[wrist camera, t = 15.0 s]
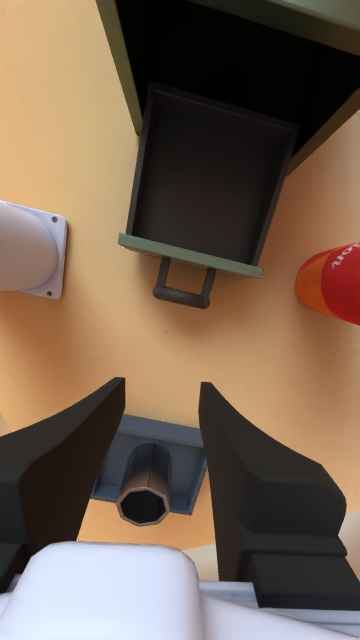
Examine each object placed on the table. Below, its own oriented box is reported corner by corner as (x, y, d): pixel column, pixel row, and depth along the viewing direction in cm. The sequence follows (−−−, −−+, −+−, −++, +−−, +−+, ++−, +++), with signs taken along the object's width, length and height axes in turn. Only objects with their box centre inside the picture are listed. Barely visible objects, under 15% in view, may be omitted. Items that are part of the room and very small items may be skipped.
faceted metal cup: (122, 464, 24) (107, 512, 19) (144, 436, 23) (135, 480, 18) (156, 482, 25) (150, 533, 20) (178, 456, 24) (178, 503, 19)
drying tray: (95, 480, 25) (87, 498, 23) (106, 410, 23) (99, 424, 21) (190, 496, 26) (191, 515, 24) (211, 431, 23) (214, 446, 21)
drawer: (123, 287, 18) (110, 290, 15) (152, 109, 15) (144, 59, 12) (234, 313, 19) (246, 321, 15) (284, 147, 16) (314, 110, 12)
